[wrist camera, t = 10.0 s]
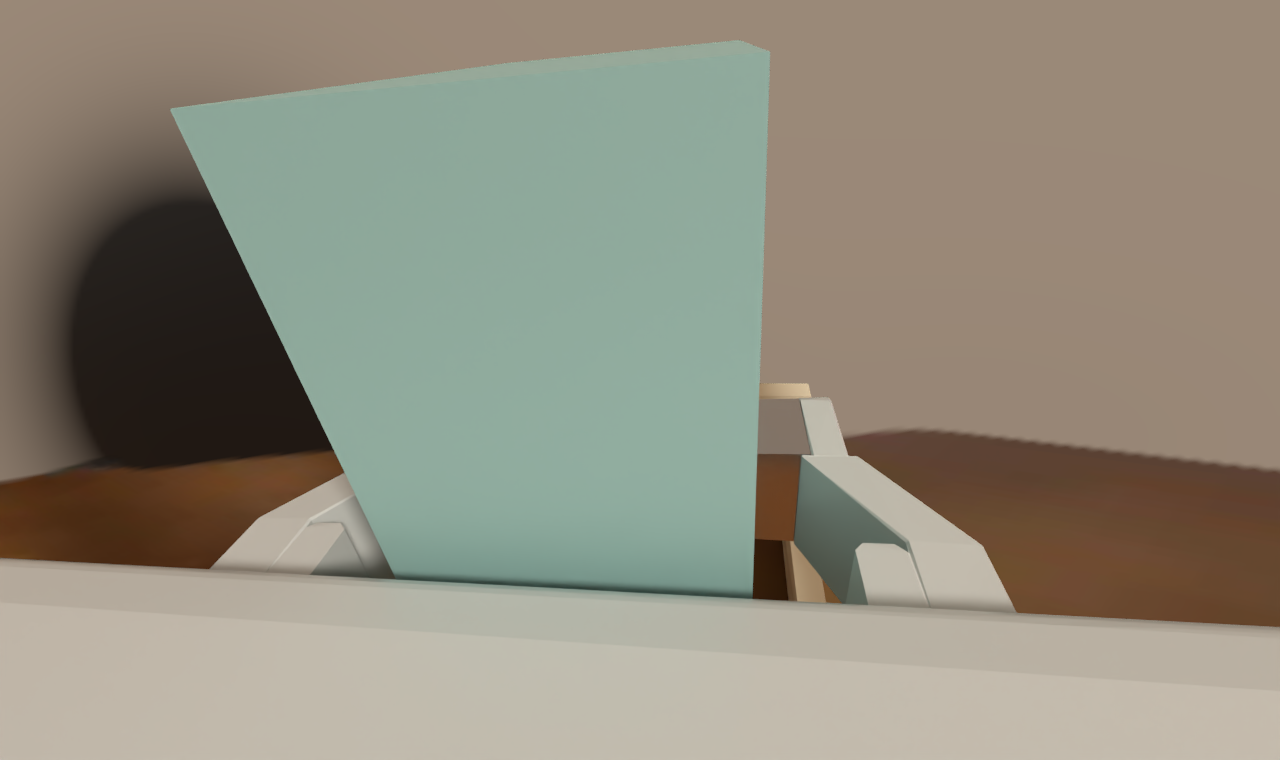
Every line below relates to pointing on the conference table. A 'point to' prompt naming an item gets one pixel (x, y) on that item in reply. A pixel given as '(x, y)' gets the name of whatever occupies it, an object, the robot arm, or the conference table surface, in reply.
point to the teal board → (522, 306)
